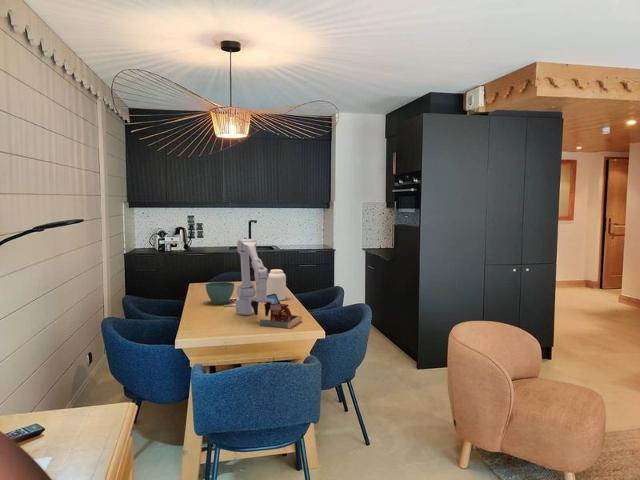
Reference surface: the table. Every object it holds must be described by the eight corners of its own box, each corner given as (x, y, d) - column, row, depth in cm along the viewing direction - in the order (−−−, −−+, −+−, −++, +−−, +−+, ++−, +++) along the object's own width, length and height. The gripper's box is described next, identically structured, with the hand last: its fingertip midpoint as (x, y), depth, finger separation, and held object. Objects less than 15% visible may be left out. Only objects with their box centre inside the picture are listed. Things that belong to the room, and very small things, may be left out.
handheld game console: (277, 310, 292) (277, 298, 291) (263, 308, 297) (263, 296, 296) (289, 306, 302) (289, 294, 302) (275, 304, 308) (275, 293, 307)
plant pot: (237, 304, 306) (237, 285, 305) (208, 306, 299) (208, 287, 298) (231, 299, 323) (231, 281, 322) (203, 301, 316) (203, 282, 315)
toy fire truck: (288, 325, 254) (288, 306, 253) (267, 323, 258) (267, 304, 257) (293, 322, 260) (293, 303, 260) (272, 320, 264) (272, 302, 264)
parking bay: (259, 325, 254) (259, 319, 254) (272, 318, 269) (272, 313, 269) (290, 328, 249) (290, 322, 248) (301, 321, 264) (301, 316, 263)
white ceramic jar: (265, 300, 318) (265, 270, 317) (269, 297, 330) (269, 268, 329) (283, 301, 316) (283, 271, 315) (287, 297, 329) (287, 268, 327)
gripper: (246, 291, 260) (246, 315, 261) (270, 293, 255) (270, 318, 256) (252, 289, 267) (252, 313, 268) (275, 290, 262) (276, 315, 263)
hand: (261, 315), depth 263 cm, fingers open, 6 cm apart
